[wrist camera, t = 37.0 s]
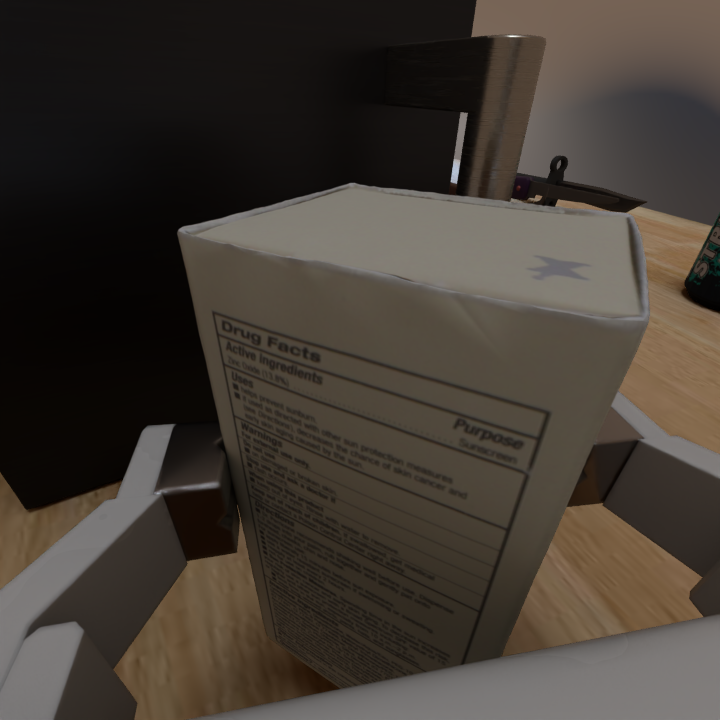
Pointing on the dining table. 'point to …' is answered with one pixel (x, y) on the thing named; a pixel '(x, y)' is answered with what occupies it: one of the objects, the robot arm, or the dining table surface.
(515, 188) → the knife set
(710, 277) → the beverage can
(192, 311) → the cupboard door
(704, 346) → the dining table surface
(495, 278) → the white carton box
